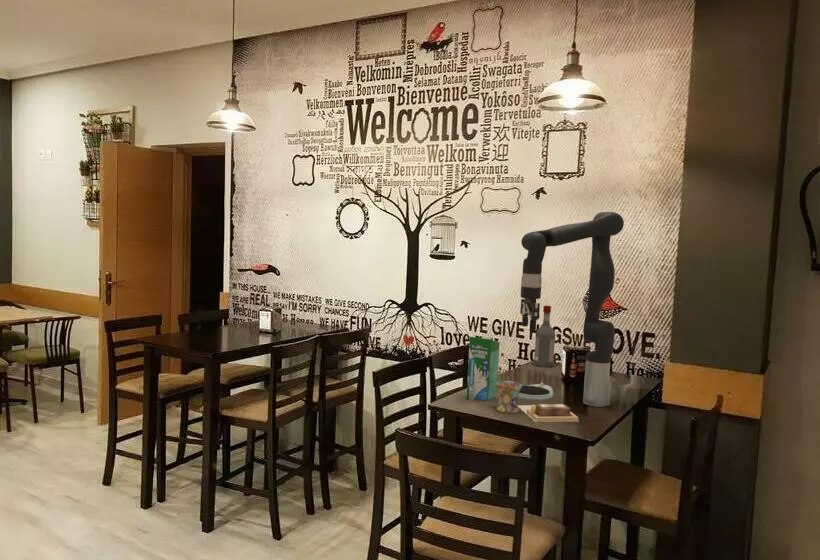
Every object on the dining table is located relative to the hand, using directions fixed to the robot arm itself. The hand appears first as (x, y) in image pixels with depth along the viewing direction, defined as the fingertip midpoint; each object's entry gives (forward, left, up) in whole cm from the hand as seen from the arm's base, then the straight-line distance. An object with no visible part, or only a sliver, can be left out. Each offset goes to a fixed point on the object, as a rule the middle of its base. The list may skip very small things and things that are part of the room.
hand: (528, 328), depth 242 cm
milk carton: (+14, -10, -30) cm, 35 cm away
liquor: (-35, -70, -30) cm, 84 cm away
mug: (+10, +7, -30) cm, 33 cm away
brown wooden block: (-4, +18, -29) cm, 34 cm away
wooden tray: (-4, +13, -30) cm, 33 cm away
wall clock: (-10, -16, -31) cm, 36 cm away
